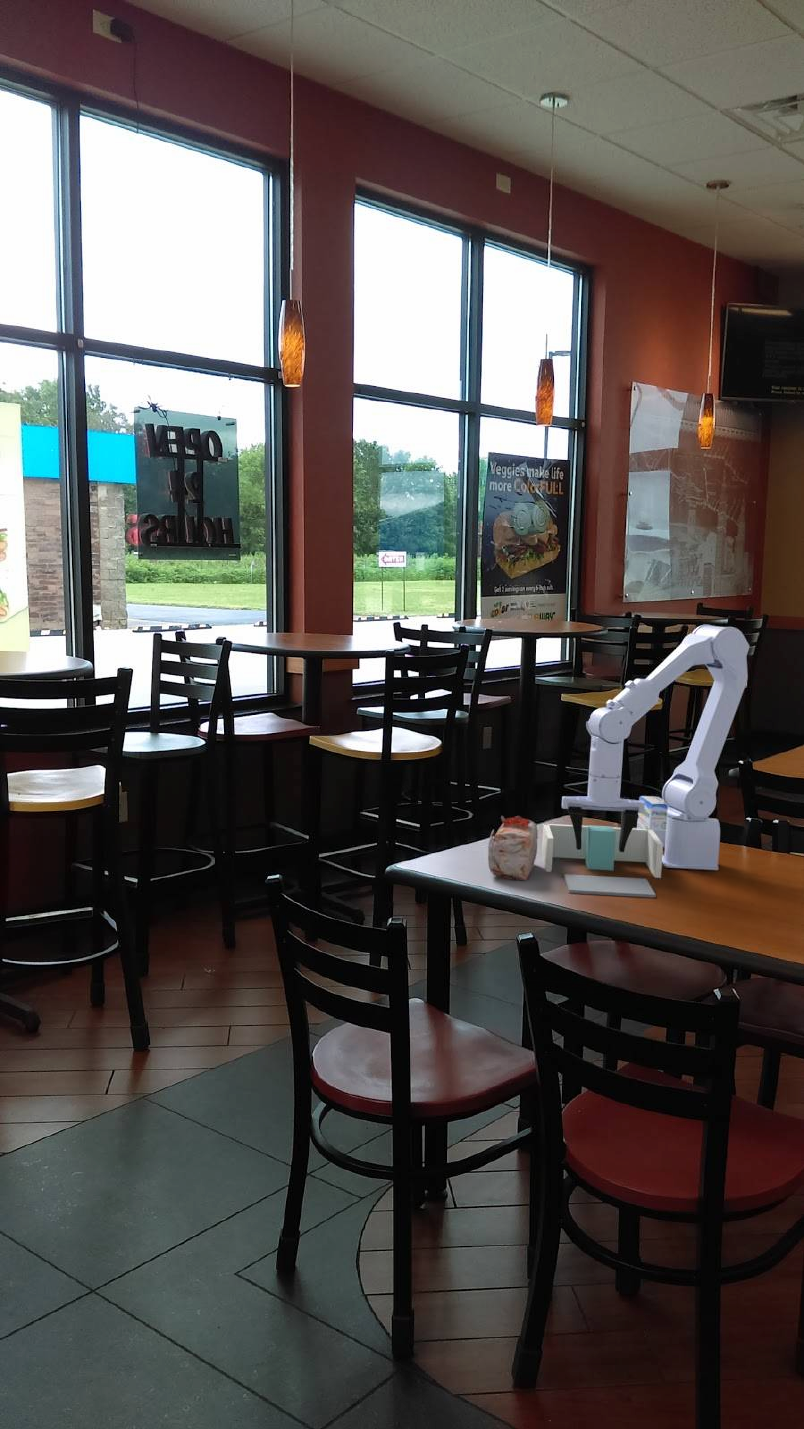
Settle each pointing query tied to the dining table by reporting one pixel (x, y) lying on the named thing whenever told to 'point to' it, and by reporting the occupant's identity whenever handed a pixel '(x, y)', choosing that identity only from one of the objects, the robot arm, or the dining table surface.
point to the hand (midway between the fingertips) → (599, 849)
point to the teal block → (600, 847)
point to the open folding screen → (637, 849)
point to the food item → (513, 848)
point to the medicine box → (654, 816)
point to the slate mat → (609, 885)
